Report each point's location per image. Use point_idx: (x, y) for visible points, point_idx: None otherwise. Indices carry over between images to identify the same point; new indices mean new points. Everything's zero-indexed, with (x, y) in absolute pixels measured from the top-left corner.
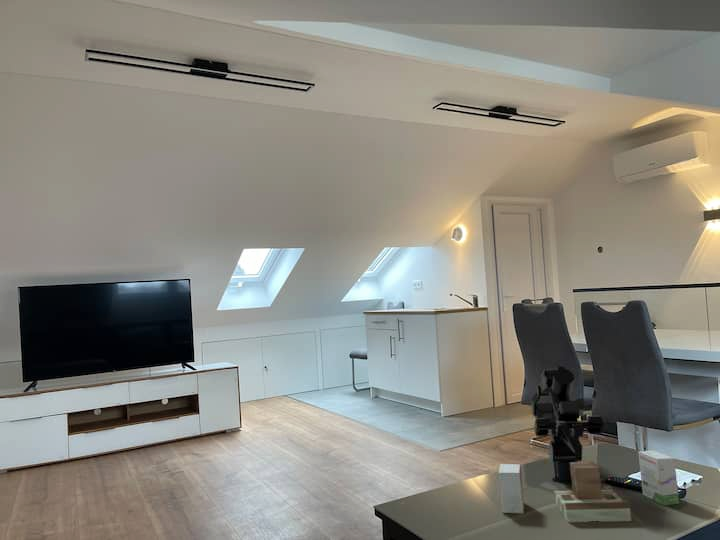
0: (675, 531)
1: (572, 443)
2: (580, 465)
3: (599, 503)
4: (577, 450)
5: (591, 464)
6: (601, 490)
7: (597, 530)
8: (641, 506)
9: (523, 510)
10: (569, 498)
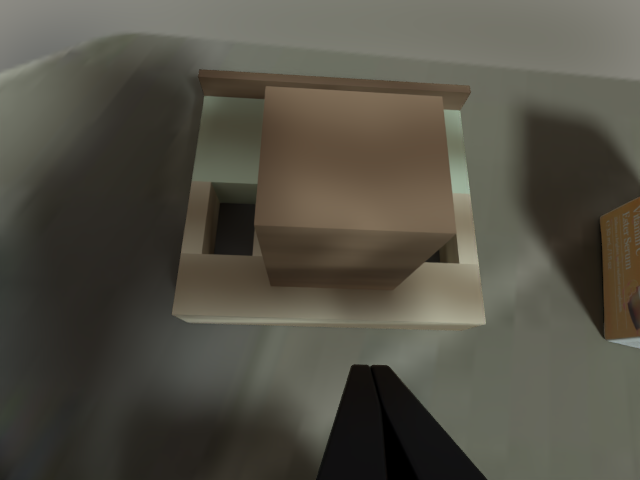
0: (117, 42)
1: (428, 443)
2: (386, 144)
3: (327, 79)
4: (359, 368)
5: (294, 152)
6: (232, 308)
7: (357, 71)
8: (96, 249)
9: (605, 224)
10: None
